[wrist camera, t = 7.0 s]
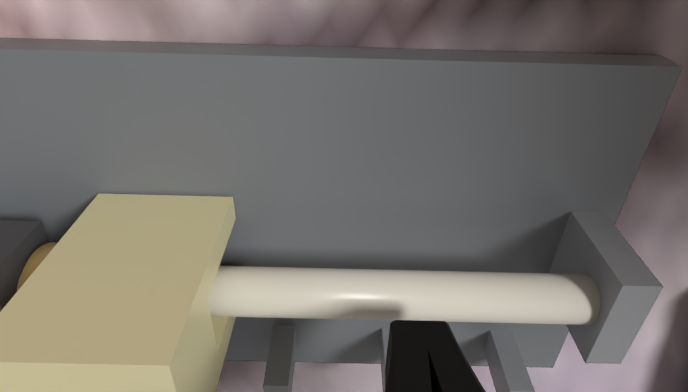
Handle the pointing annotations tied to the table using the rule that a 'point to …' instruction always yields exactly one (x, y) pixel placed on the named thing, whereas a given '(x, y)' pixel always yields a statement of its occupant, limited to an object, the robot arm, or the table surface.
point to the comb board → (355, 187)
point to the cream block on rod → (123, 301)
